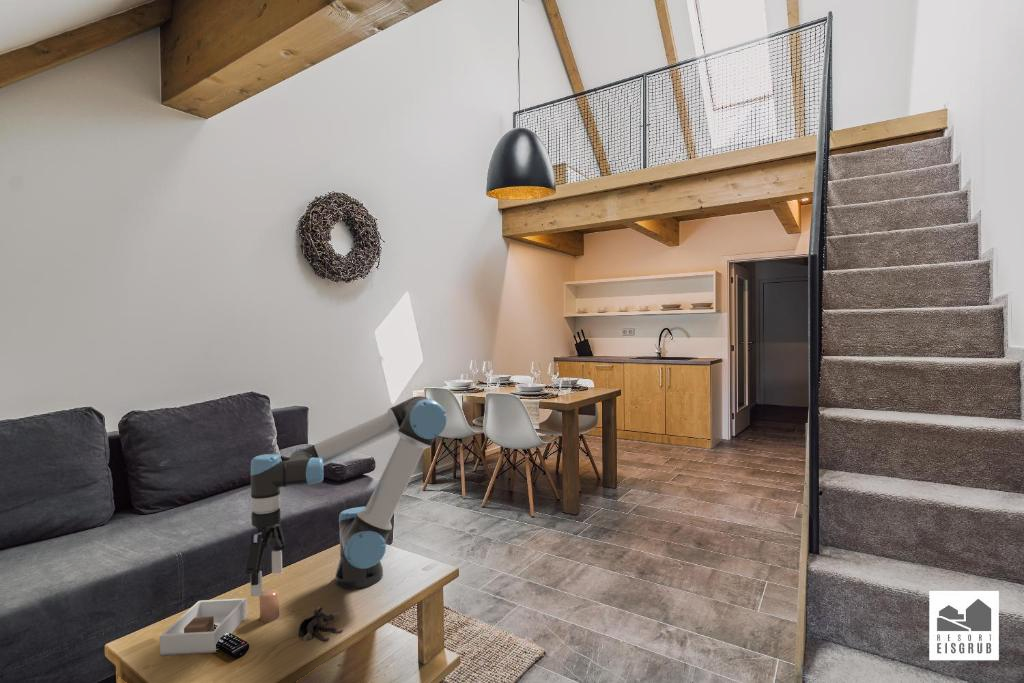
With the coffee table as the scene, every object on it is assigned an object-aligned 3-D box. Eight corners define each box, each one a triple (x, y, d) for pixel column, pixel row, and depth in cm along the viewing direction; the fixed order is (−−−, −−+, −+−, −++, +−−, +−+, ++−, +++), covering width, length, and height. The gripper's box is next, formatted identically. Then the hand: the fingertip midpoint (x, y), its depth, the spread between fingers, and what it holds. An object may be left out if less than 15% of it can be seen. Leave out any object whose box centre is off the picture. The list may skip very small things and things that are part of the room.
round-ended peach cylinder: (282, 612, 150) (281, 588, 150) (275, 621, 145) (274, 597, 145) (264, 613, 150) (264, 589, 150) (257, 622, 145) (256, 598, 145)
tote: (247, 615, 149) (246, 598, 149) (214, 652, 132) (214, 633, 132) (199, 617, 149) (198, 600, 149) (160, 655, 131) (159, 635, 131)
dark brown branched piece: (315, 645, 132) (293, 607, 138) (305, 668, 136) (284, 630, 142) (354, 623, 141) (332, 589, 147) (343, 645, 145) (323, 611, 151)
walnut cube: (204, 645, 134) (203, 626, 134) (184, 647, 134) (183, 628, 134) (214, 634, 139) (213, 616, 139) (195, 636, 139) (194, 617, 139)
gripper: (271, 496, 160) (272, 564, 160) (230, 525, 135) (232, 606, 135) (295, 496, 160) (296, 564, 160) (259, 524, 135) (261, 605, 135)
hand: (267, 583), depth 148 cm, fingers open, 13 cm apart
